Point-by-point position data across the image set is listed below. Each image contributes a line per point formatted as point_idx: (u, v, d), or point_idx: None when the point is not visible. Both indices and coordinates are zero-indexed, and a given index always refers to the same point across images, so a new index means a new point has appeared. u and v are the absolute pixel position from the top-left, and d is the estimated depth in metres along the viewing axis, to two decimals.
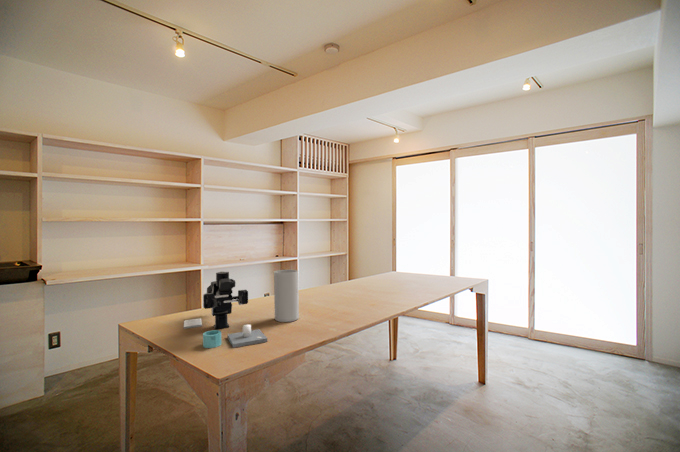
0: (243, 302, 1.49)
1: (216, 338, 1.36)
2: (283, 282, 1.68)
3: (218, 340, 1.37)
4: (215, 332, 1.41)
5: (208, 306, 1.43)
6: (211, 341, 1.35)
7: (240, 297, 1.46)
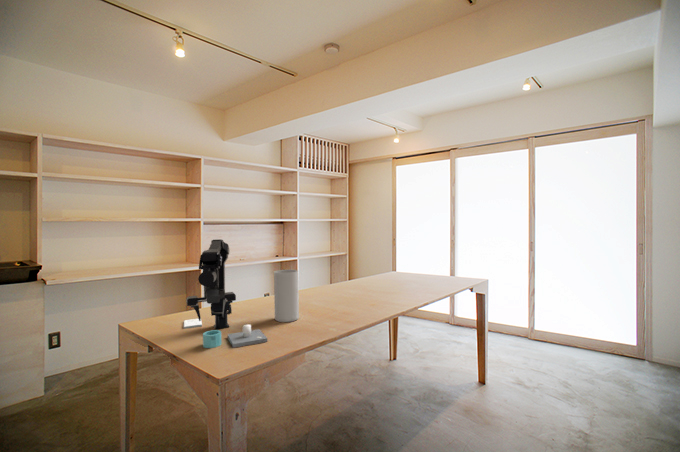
0: None
1: (216, 338, 1.36)
2: (283, 282, 1.68)
3: (218, 340, 1.37)
4: (215, 332, 1.41)
5: None
6: (211, 341, 1.35)
7: (225, 310, 1.40)
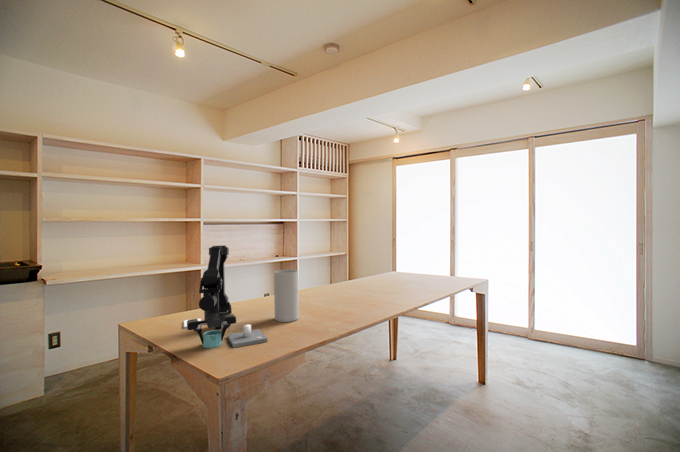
0: None
1: (216, 338, 1.36)
2: (283, 282, 1.68)
3: (218, 340, 1.37)
4: (215, 332, 1.41)
5: None
6: (211, 341, 1.35)
7: (223, 333, 1.39)
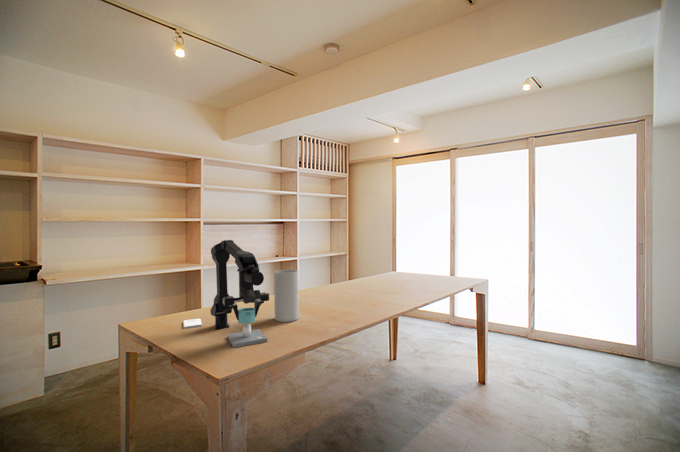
0: None
1: (250, 314, 1.41)
2: (283, 282, 1.68)
3: (253, 316, 1.42)
4: (249, 309, 1.46)
5: None
6: (246, 317, 1.40)
7: (257, 310, 1.45)
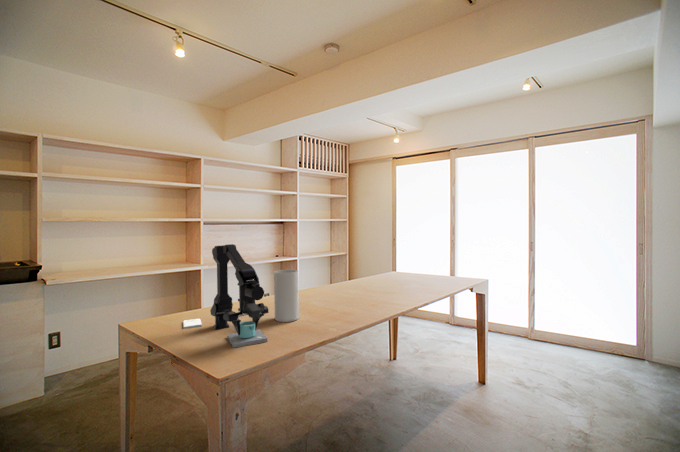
0: None
1: None
2: (283, 282, 1.68)
3: (254, 330, 1.43)
4: (247, 323, 1.46)
5: None
6: (249, 331, 1.41)
7: (257, 323, 1.46)
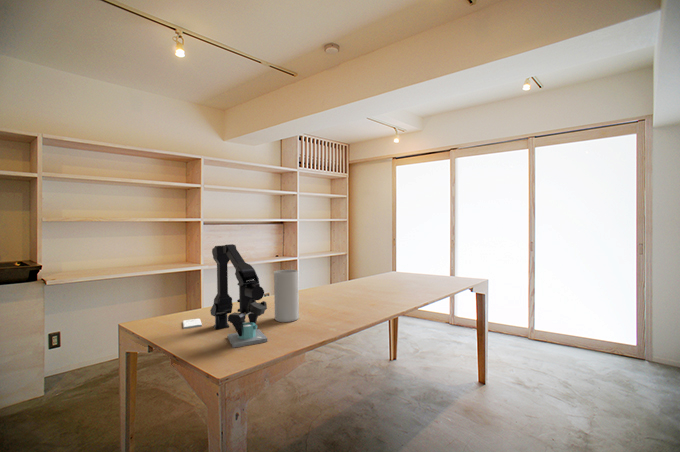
0: None
1: None
2: (283, 282, 1.68)
3: None
4: (244, 324, 1.46)
5: None
6: (253, 331, 1.42)
7: (255, 321, 1.49)
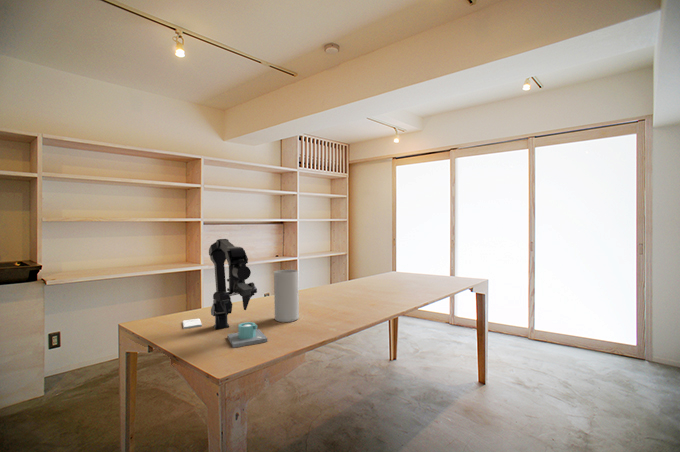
0: None
1: None
2: (283, 282, 1.68)
3: None
4: (244, 324, 1.46)
5: None
6: (253, 331, 1.42)
7: (247, 302, 1.48)
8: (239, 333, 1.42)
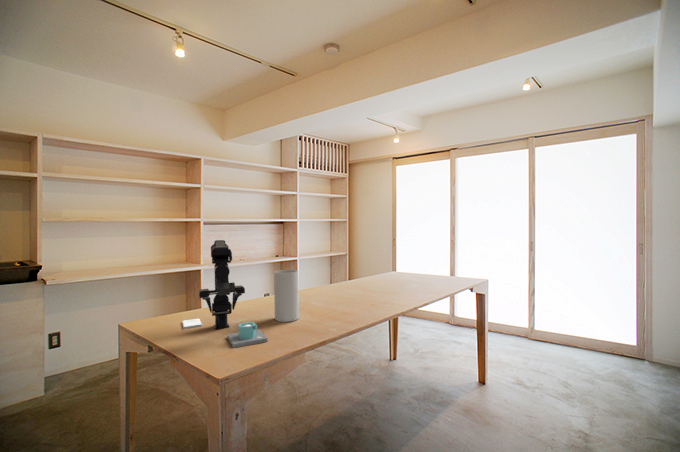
0: None
1: None
2: (283, 282, 1.68)
3: None
4: (244, 324, 1.46)
5: None
6: (253, 331, 1.42)
7: (235, 302, 1.47)
8: (239, 333, 1.42)
